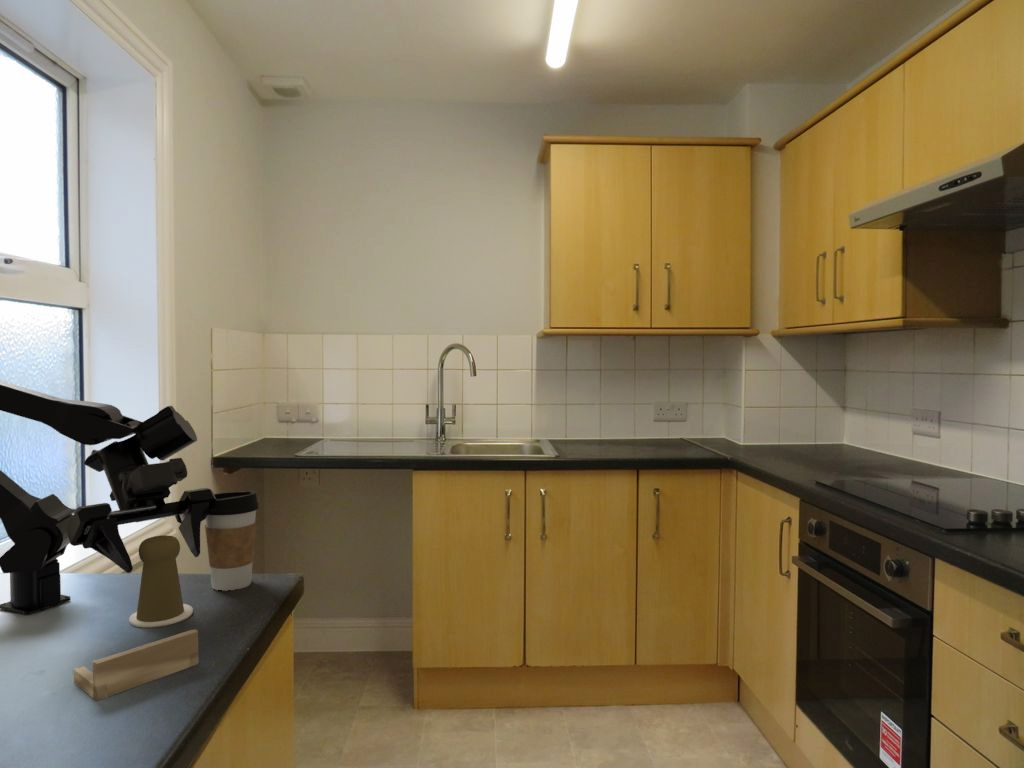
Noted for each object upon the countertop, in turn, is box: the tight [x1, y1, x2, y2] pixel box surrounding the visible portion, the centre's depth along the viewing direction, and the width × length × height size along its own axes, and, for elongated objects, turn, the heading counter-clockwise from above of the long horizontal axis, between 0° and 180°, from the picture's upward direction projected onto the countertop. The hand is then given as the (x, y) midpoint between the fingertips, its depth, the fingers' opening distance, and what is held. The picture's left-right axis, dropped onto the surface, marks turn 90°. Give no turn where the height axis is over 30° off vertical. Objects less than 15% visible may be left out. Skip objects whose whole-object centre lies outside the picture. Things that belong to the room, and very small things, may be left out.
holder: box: [73, 628, 199, 702], centre depth 77 cm, size 6×11×4 cm, turn 142°
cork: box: [136, 534, 184, 622], centre depth 94 cm, size 6×6×11 cm
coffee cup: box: [204, 490, 259, 592], centre depth 107 cm, size 8×8×15 cm
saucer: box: [128, 603, 194, 628], centre depth 94 cm, size 8×8×1 cm
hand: (165, 562), depth 93 cm, fingers open, 9 cm apart
